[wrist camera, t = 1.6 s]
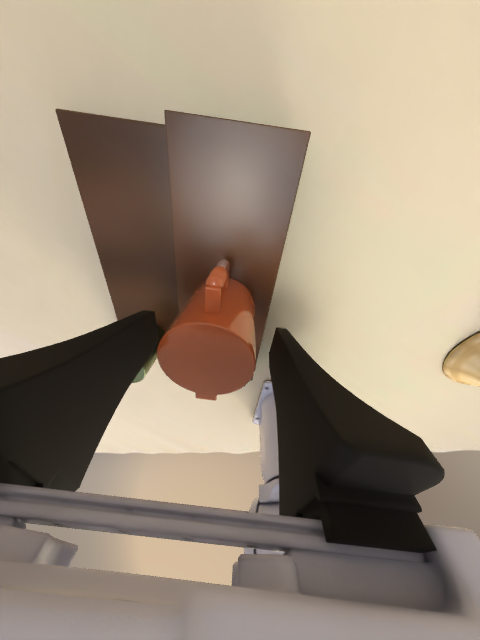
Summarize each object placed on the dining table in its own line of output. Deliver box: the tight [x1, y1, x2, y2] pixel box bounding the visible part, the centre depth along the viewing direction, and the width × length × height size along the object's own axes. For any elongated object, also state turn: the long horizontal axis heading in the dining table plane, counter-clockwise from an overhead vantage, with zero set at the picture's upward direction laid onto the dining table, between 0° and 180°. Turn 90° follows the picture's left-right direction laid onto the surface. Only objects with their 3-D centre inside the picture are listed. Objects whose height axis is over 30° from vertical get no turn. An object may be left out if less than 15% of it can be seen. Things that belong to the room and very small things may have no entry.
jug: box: [157, 260, 256, 400], centre depth 11 cm, size 7×5×6 cm
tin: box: [132, 325, 165, 383], centre depth 16 cm, size 4×4×4 cm
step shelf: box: [56, 109, 311, 380], centre depth 14 cm, size 18×14×3 cm
